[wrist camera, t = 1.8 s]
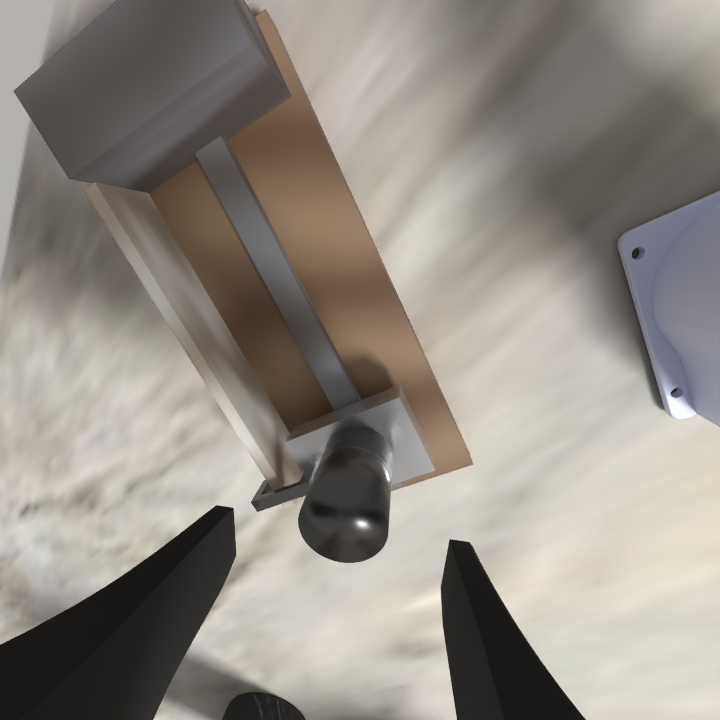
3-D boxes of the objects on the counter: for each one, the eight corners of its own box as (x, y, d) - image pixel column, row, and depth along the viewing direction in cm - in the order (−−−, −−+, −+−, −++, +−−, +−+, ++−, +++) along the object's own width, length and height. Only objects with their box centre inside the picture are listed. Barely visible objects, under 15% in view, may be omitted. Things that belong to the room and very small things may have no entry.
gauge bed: (469, 453, 19) (490, 520, 15) (326, 501, 22) (304, 572, 17) (274, 24, 14) (211, -83, 10) (114, 143, 17) (0, 103, 12)
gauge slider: (433, 452, 18) (445, 547, 12) (291, 500, 20) (246, 601, 14) (400, 384, 17) (397, 453, 11) (255, 442, 19) (192, 525, 13)
